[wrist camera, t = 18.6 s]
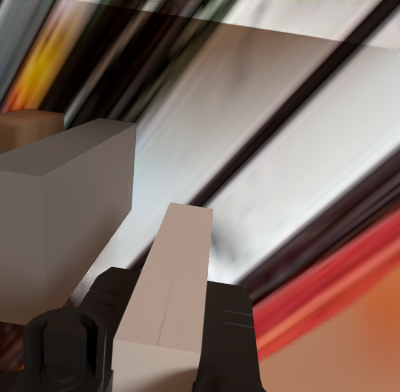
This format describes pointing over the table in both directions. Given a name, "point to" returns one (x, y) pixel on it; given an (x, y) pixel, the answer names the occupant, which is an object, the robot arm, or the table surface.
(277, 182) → the table surface
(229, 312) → the robot arm
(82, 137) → the charcoal domino
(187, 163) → the table surface
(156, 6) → the table surface
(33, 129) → the walnut domino
